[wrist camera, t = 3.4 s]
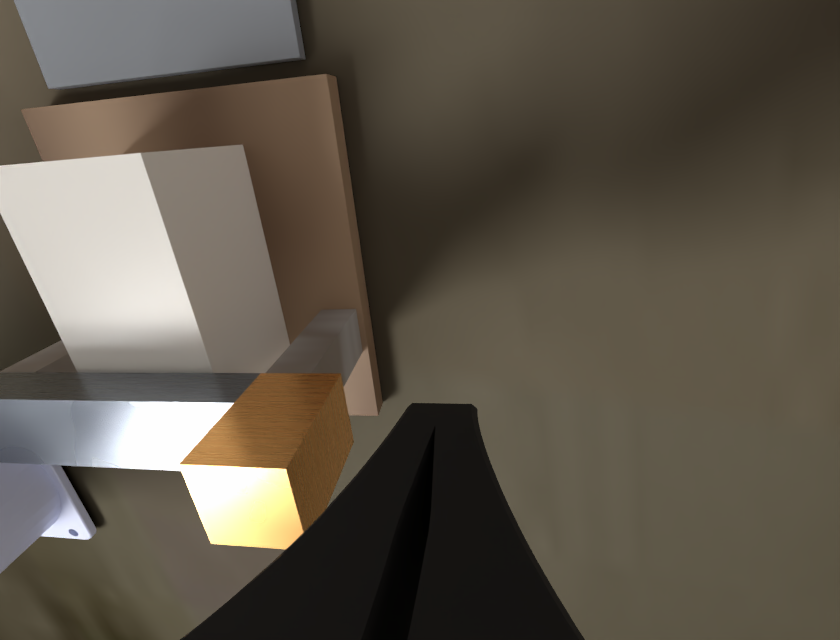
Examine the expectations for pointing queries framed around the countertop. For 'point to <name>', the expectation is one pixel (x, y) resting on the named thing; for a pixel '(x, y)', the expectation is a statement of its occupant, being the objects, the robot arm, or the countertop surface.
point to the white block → (149, 260)
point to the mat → (156, 37)
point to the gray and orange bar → (194, 439)
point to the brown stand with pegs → (276, 200)
